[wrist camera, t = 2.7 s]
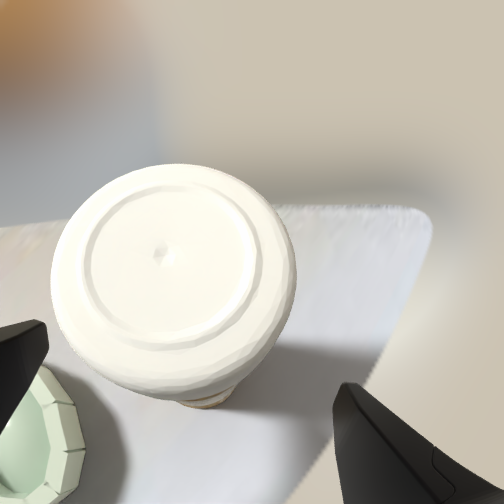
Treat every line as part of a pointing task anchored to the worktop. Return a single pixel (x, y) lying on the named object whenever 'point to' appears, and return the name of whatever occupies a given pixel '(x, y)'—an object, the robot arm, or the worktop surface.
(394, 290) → the worktop surface
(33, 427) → the dish
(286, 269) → the sprinkles bottle
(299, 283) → the worktop surface
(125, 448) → the worktop surface
